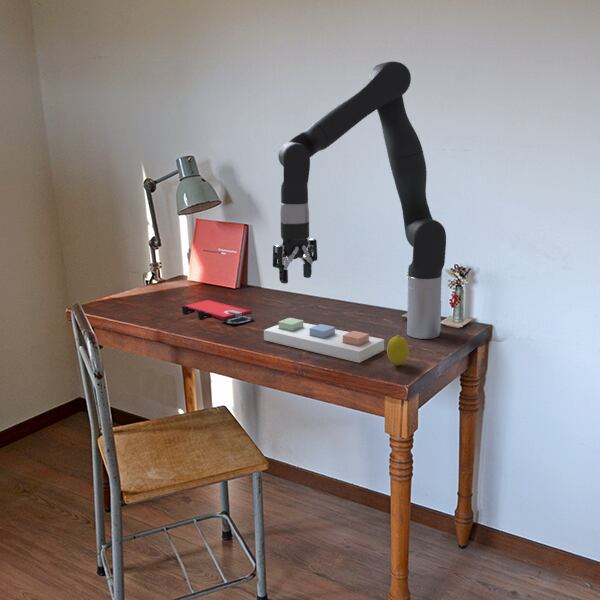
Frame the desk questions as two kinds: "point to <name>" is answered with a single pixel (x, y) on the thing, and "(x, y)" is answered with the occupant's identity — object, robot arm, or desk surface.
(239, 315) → the red board with handle
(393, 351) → the lemon
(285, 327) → the sage button
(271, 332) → the button panel
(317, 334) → the slate button
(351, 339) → the terracotta button
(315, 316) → the desk surface
